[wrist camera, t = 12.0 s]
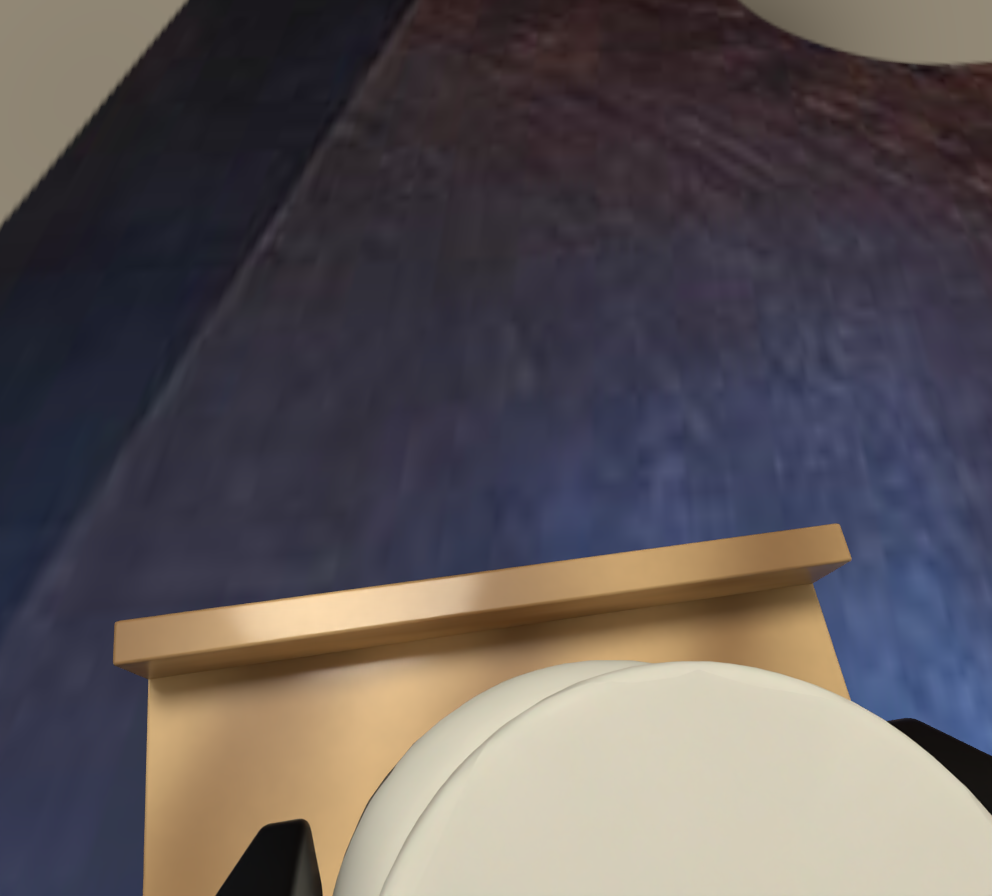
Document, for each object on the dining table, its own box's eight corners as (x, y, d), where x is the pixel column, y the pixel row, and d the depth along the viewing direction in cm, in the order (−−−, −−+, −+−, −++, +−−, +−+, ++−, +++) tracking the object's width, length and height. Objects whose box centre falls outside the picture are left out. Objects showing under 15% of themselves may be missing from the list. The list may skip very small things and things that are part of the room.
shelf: (734, 596, 21) (840, 522, 16) (857, 1036, 17) (1062, 1152, 12) (209, 673, 20) (113, 620, 14) (212, 1178, 16) (78, 1396, 10)
